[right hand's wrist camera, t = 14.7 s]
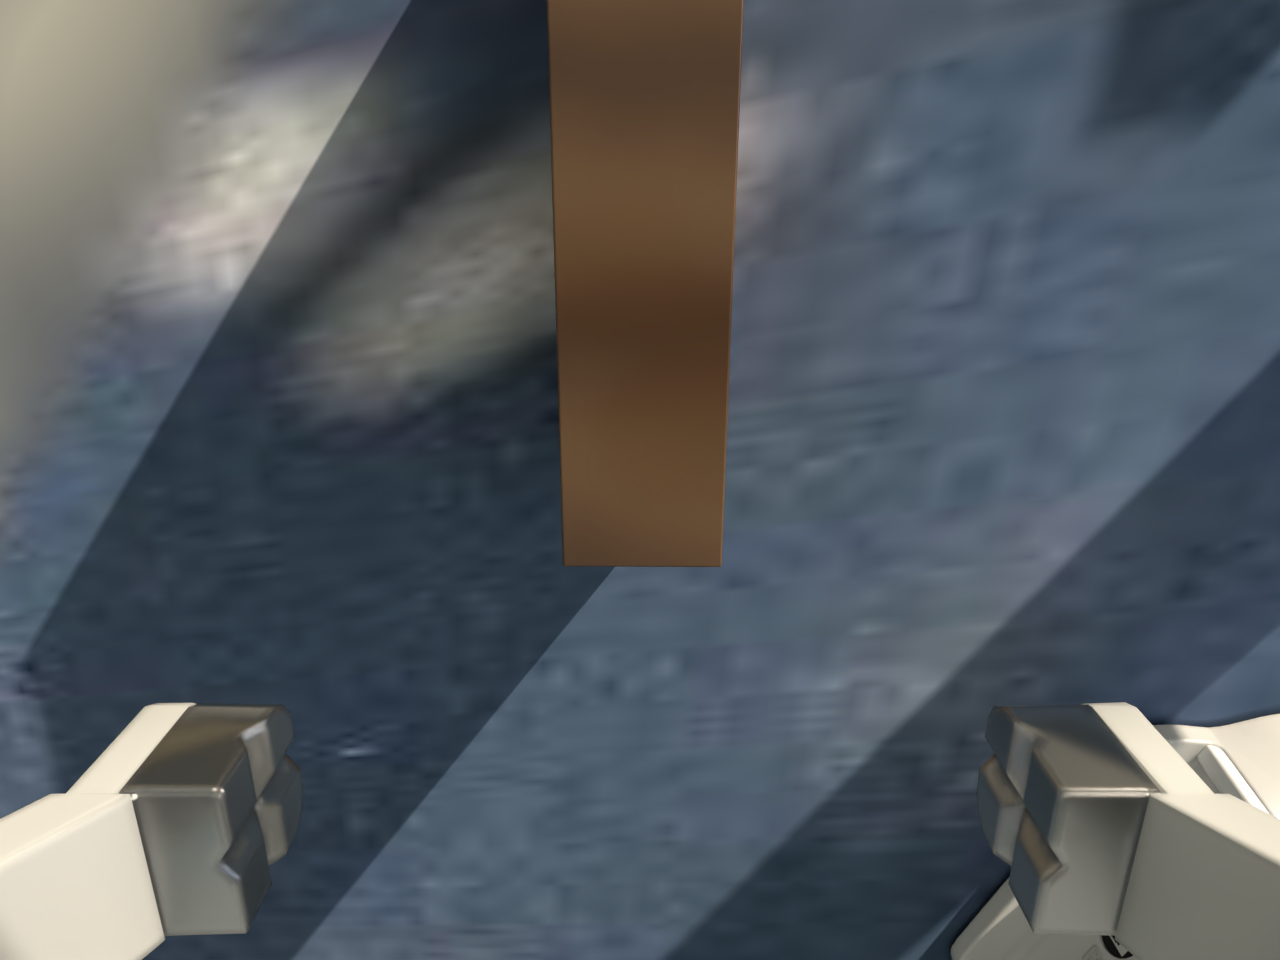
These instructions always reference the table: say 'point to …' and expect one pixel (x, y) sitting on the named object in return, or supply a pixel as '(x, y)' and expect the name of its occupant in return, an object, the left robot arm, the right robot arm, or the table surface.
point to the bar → (643, 273)
